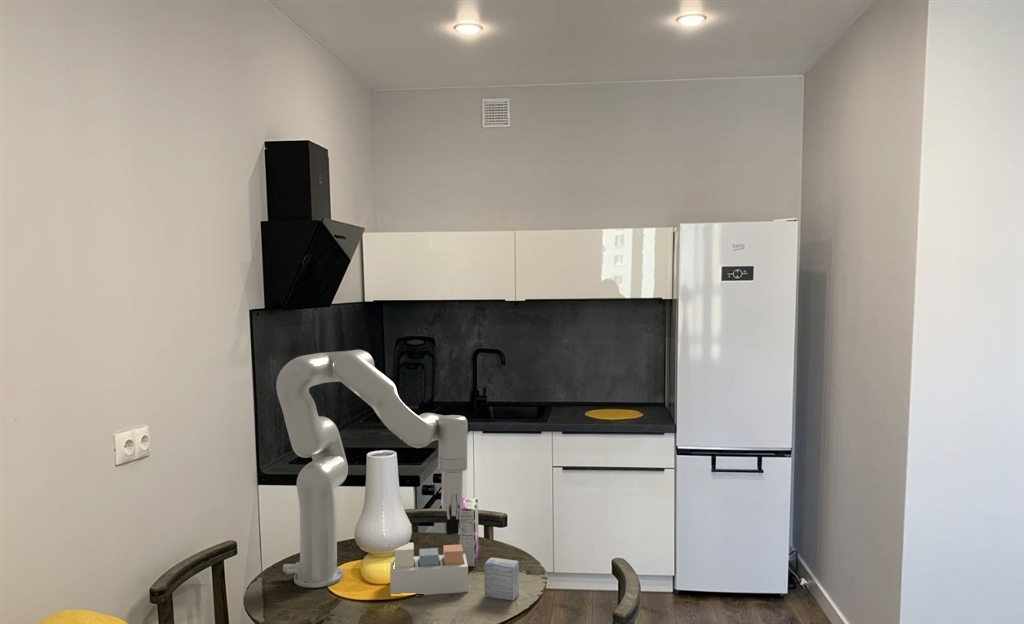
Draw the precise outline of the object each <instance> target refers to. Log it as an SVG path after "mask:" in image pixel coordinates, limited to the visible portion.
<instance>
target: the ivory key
mask: <svg viewBox="0 0 1024 624" xmlns="http://www.w3.org/2000/svg"><path fill="white" fill-rule="evenodd" d="M407 543H408V544H406V545H404V546H401V547H399V548H397V549H395V548H394V558H395V568H412V567H414V557H415V551H414V549H415V547H414V545H415V544H414V542H407Z"/></svg>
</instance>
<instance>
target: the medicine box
mask: <svg viewBox="0 0 1024 624" xmlns="http://www.w3.org/2000/svg"><path fill="white" fill-rule="evenodd" d="M483 564H484V565H483V567H484V568H483V569H484V580H483V582H484V598H492V599H499V600H506V601H512V602H514V601H515V600H516V598H517V597H518V596H519V594H520V578H519V577H520V574H519V573H520V571H519V569H520V567H519V564H520V562H519V561H518V560H514V559H513V560H512V559H508V558H507V559H506V558H499V557H492V556H491V557H490V558H488V559H487V560H486V561H485V563H483Z"/></svg>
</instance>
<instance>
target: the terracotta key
mask: <svg viewBox="0 0 1024 624" xmlns="http://www.w3.org/2000/svg"><path fill="white" fill-rule="evenodd" d="M442 549H443V550H442V551H443V554H442V555H443V566H444V565H460V564H463V548H462V544H459V543H458V544H447V545H445V544H444V545H443V548H442Z"/></svg>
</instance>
